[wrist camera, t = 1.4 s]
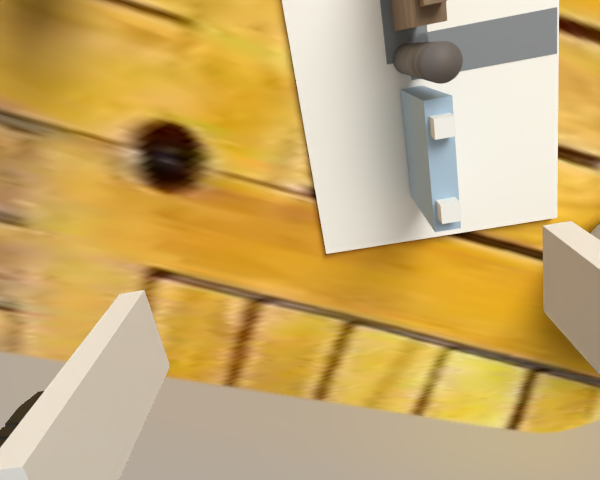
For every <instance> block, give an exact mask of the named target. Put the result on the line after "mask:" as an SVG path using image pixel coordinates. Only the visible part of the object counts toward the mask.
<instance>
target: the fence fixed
mask: <svg viewBox="0 0 600 480" xmlns="http://www.w3.org/2000/svg"><path fill="white" fill-rule="evenodd" d="M446 1H447V0H391V9H392V19H393V28H394V31H398V30H404V29H409V28H414V27H419V26H424V25H429V24H434V23H439V22H444V21H447V9H446ZM393 63H394V66H395V68H396V69H397V71H399V72H400V73H402V74H406V75H409V76H413V77H416V78H420V79H423V80H427V81H430V82H434V83H438V84H442V83H447V82H449V81H451V80H453V79H454V78H455V77H456V76H457V75H458V74H459V72H460V70H461V68H462V64H463V57H462V53H461V51H460V49H459V48H458V47H457V46H456V45H455V44H454V43H451V42H448V41H438V42H419V43H406V44H403V45H401V46H400V47H399V48H398V49H397V50H396V51H395V53H394V57H393Z"/></svg>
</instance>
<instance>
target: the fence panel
mask: <svg viewBox="0 0 600 480" xmlns="http://www.w3.org/2000/svg"><path fill="white" fill-rule="evenodd" d="M400 96H401V106H402V116H403V125H404V135H405V145H406V155H407V164H408V174H409V184H410V193H411V197H412V199H413V200H414V202H415V203H416V205H417V206H418V208H419V209H420V211H421V212H422V214H423V215H424V217H425V218H426V220H427V221H428V223H429V224H430V226H431V227H432V229H433V230H434V232H439V231H446V230H452V229H458V228H461V221H462V218H461V203H460V202H459V189H458V174H457V159H456V144H455V136H456V127H455V115H454V114H453V99H452V95H449V94H446V93H443V92H440V91H437V90H434V89H431V88H428V87H426V86H423V85H422V86H416V87H411V88H406V89H400Z"/></svg>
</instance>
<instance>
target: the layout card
mask: <svg viewBox="0 0 600 480" xmlns="http://www.w3.org/2000/svg"><path fill="white" fill-rule="evenodd" d="M282 4H283V10H284V15H285V21H286V27H287V33H288V38H289V44H290V50H291V55H292V61H293V67H294V73H295V78H296V84H297V90H298V95H299V101H300V107H301V113H302V118H303V124H304V130H305V135H306V141H307V147H308V153H309V158H310V164H311V170H312V175H313V181H314V187H315V193H316V198H317V204H318V210H319V215H320V221H321V227H322V233H323V238H324V244H325V250H326V254H329V253H336V252H342V251H348V250H355V249H361V248H368V247H374V246H380V245H387V244H393V243H399V242H406V241H412V240H419V239H425V238H431V237H438V236H444V235H450V234H457V233H463V232H470V231H476V230H482V229H489V228H495V227H501V226H508V225H514V224H521V223H527V222H533V221H540V220H546V219H552V218H557V177H558V57H559V0H447V1H446V9H447V21H444V22H439V23H434V24H429V25H424V26H419V27H414V28H409V29H404V30H398V31H394V28H393V19H392V9H391V0H282ZM438 41H448V42H451V43H454V44H455V45H456V46H457V47H458V48H459V49H460V51H461V53H462V57H463V64H462V68H461V70H460V72H459V74H458V75H457V76H456V77H455V78H454V79H453V80H451V81H449V82H447V83H442V84H438V83H434V82H430V81H427V80H423V79H420V78H416V77H413V76H409V75H406V74H402V73H400V72H399V71H397V69H396V68H395V66H394V63H393V57H394V53H395V51H396V50H397V49H398V48H399V47H400V46H401V45H403V44H406V43H419V42H438ZM422 85H423V86H426V87H428V88H431V89H434V90H437V91H440V92H443V93H446V94H449V95H452V99H453V114H454V115H455V127H456V136H455V144H456V159H457V174H458V189H459V202H460V203H461V218H462V221H461V228H458V229H452V230H446V231H439V232H434V230H433V229H432V227H431V226H430V224H429V223H428V221H427V220H426V218H425V217H424V215H423V214H422V212H421V211H420V209H419V208H418V206H417V205H416V203H415V202H414V200H413V199H412V197H411V193H410V184H409V174H408V164H407V155H406V145H405V135H404V125H403V116H402V106H401V96H400V89H406V88H411V87H416V86H422Z"/></svg>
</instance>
